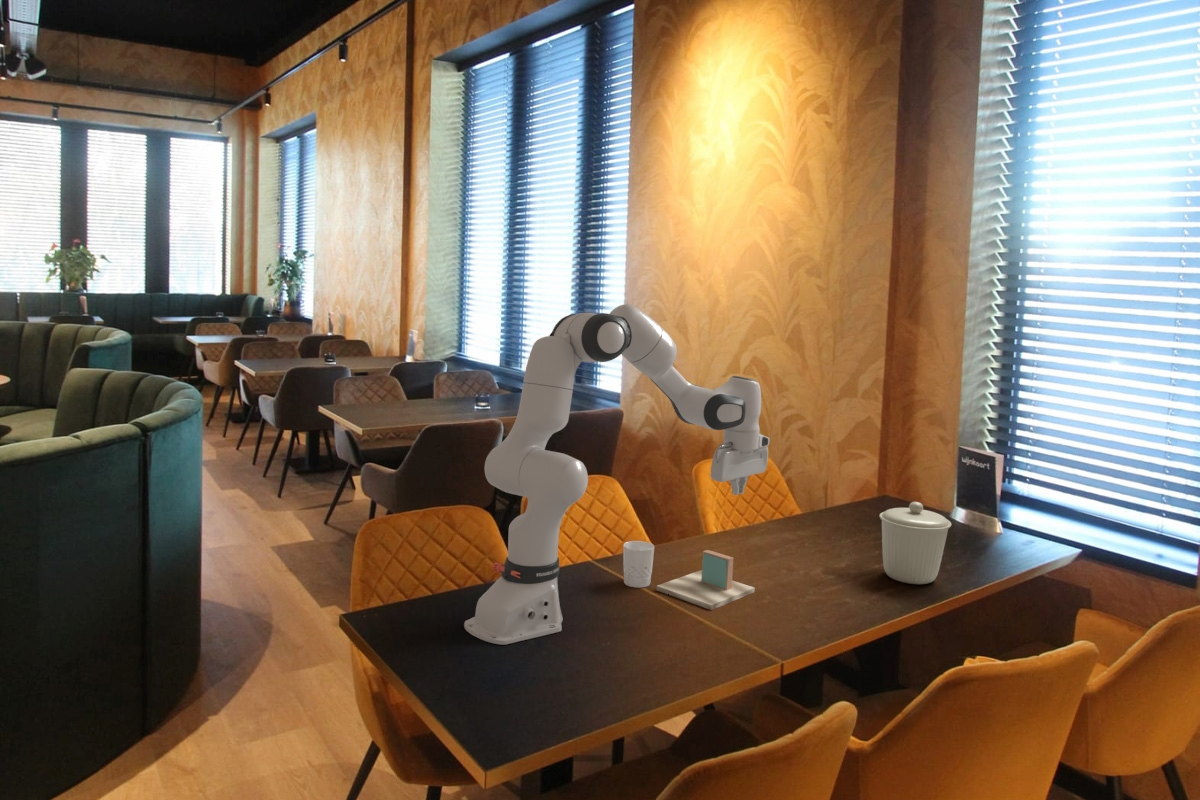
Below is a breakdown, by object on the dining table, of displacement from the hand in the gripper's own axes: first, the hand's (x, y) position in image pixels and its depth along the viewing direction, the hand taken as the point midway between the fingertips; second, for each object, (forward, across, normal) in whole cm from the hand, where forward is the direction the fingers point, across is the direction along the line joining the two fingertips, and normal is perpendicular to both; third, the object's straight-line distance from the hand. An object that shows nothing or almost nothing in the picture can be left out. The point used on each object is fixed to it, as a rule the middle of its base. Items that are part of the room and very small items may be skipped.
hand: (737, 493), depth 217 cm
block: (+22, -7, 0) cm, 24 cm away
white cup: (+24, -19, +16) cm, 35 cm away
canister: (+24, +41, -29) cm, 56 cm away
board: (+24, -10, +1) cm, 26 cm away
